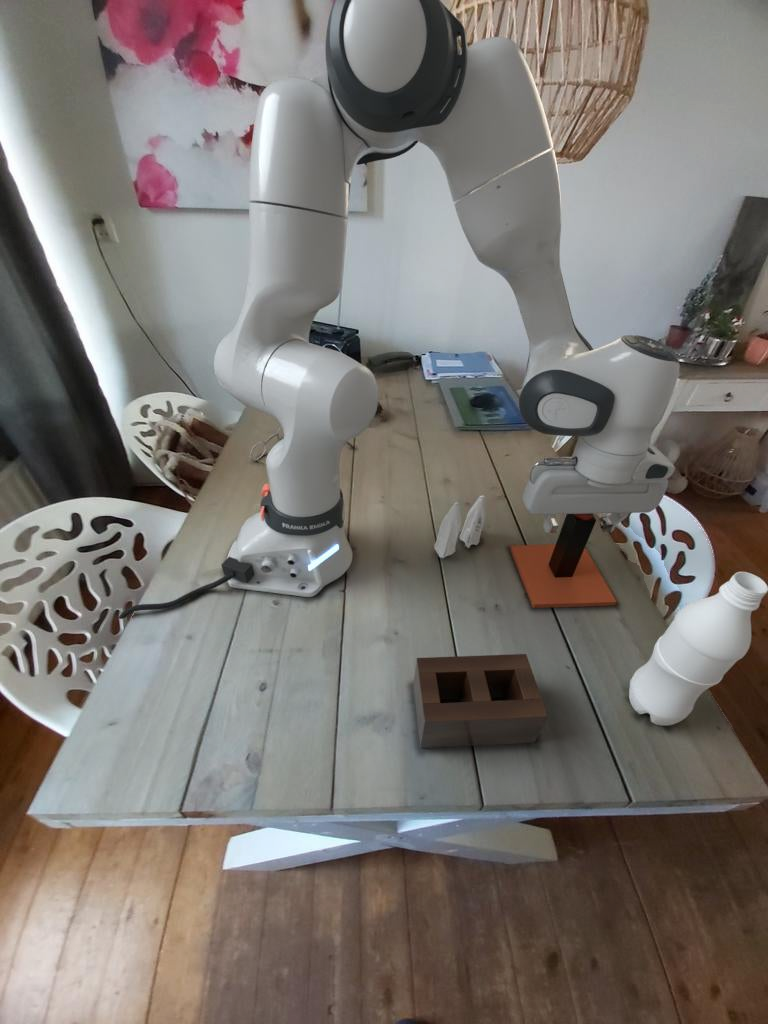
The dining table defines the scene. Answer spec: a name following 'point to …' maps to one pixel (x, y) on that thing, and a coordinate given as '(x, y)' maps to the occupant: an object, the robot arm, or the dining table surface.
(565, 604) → the mat
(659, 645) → the water bottle
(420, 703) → the holder
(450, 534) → the shaker set
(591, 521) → the red-capped black post
